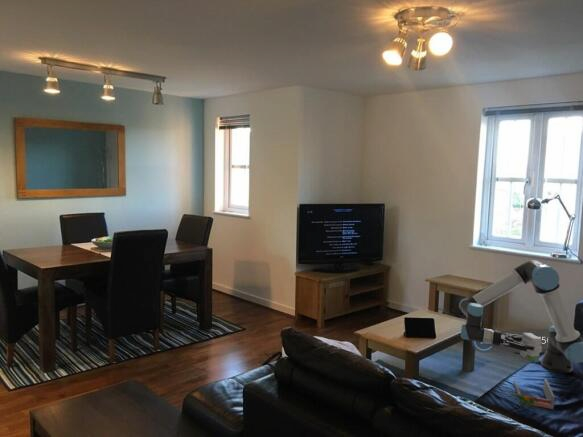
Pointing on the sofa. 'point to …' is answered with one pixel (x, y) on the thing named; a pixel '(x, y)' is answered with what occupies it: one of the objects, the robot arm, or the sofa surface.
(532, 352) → the ink box
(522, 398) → the figurine
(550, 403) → the trap channel
